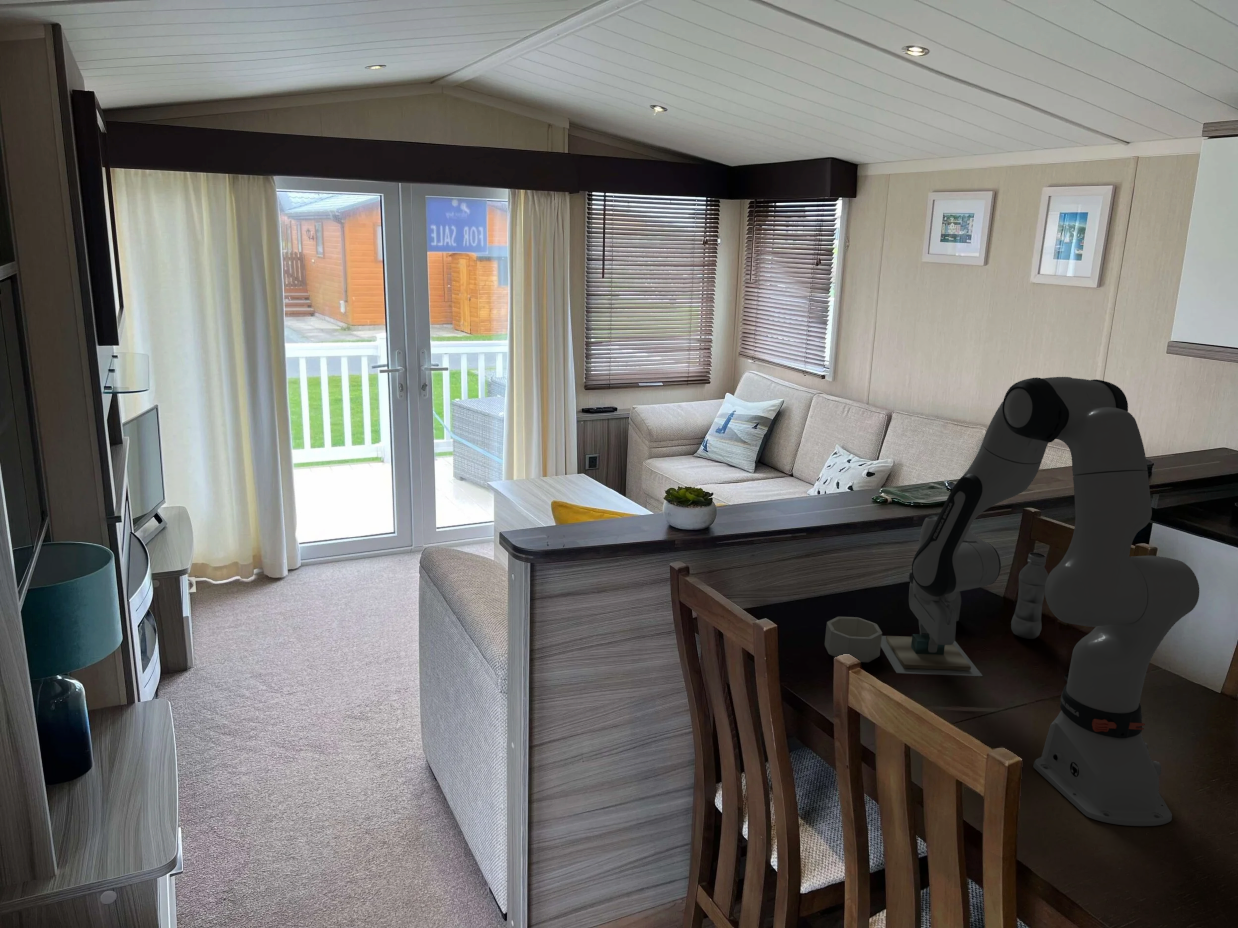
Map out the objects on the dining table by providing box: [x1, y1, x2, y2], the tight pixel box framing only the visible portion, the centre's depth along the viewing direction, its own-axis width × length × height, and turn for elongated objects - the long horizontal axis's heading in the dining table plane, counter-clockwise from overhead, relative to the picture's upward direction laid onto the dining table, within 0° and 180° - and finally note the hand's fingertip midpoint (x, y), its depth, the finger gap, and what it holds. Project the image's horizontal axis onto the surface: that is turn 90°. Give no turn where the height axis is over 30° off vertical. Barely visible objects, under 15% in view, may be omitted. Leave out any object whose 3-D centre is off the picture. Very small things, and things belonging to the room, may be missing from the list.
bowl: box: [824, 616, 883, 663], centre depth 199 cm, size 11×11×6 cm
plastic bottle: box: [1010, 551, 1049, 640], centre depth 209 cm, size 6×7×20 cm
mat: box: [880, 635, 983, 677], centre depth 199 cm, size 18×18×1 cm
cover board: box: [885, 633, 971, 670], centre depth 198 cm, size 14×14×4 cm
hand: (927, 645), depth 198 cm, fingers closed on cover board, 3 cm apart
